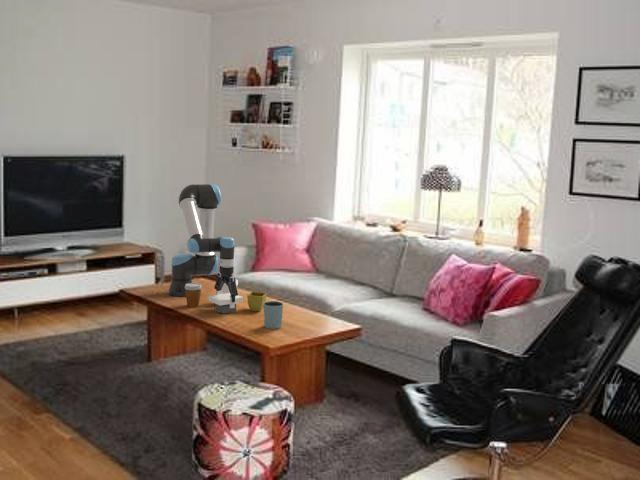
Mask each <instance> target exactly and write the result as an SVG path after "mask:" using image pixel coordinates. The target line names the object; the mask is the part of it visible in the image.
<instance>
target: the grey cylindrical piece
mask: <svg viewBox="0 0 640 480" xmlns="http://www.w3.org/2000/svg"><path fill="white" fill-rule="evenodd" d="M283 308H284V303H283V302H281V301H276V300H275V301H273V300H271V301H265V303H263V308H262V309H263V319H264V321H263V322H264V323H263V325H264V327H265V328H266V329H269V330H279V329H281V328H282V323H283V320H282V319H283V314H284V313H283V312H284V311H283V310H284V309H283Z"/></svg>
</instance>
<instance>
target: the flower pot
mask: <svg viewBox="0 0 640 480" xmlns="http://www.w3.org/2000/svg"><path fill="white" fill-rule="evenodd" d="M246 296H247V305H248V307H249V310H250V311H252V310H253V312H254V311H255V312H261V310H263V309H264V308H263V303H265V302H267V292H258V291H251V292H249V293H248V294H247V295H246Z"/></svg>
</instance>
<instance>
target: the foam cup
mask: <svg viewBox="0 0 640 480" xmlns="http://www.w3.org/2000/svg"><path fill="white" fill-rule="evenodd" d="M235 282H236V287H237V288H238V286H239V280H238V279H237V278H235ZM221 291H222V294H225V293H230V291H229V288H228V286H227V285H226V284H225V283H224V285H223V287H222V290H221Z"/></svg>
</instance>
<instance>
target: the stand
mask: <svg viewBox="0 0 640 480" xmlns="http://www.w3.org/2000/svg"><path fill="white" fill-rule="evenodd" d="M214 304H215V303H214ZM214 309H215V311H216V312H218V313H221V314H229V313H235V312H237V303H235V308H230V304H227V305H221V306H220V305H217V304H215V308H214Z"/></svg>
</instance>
